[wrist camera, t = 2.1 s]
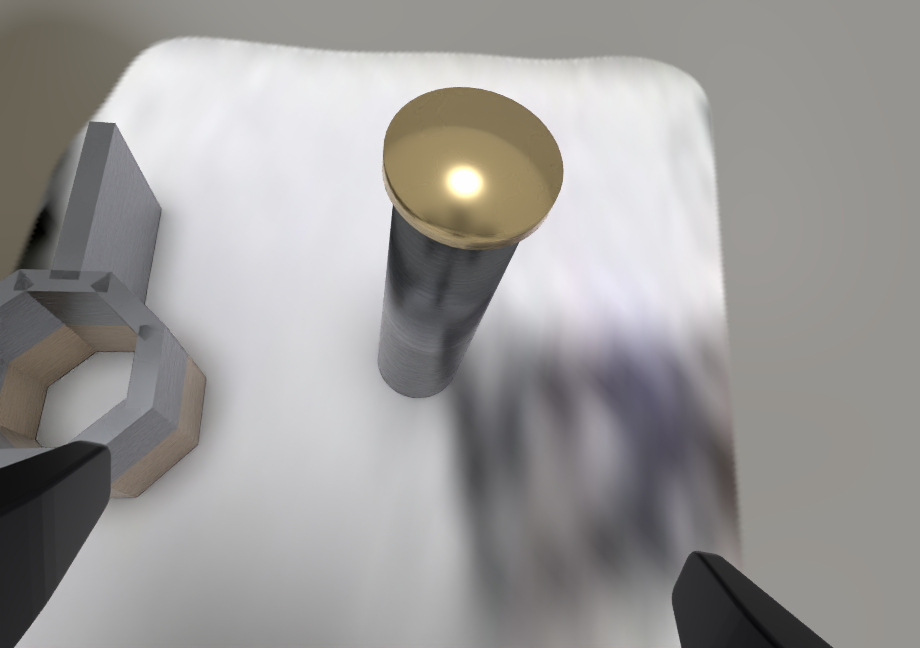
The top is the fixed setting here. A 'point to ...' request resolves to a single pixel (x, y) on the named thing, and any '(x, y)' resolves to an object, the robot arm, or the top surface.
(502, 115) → the hinge pin
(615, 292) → the top surface
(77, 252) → the bronze hinge
